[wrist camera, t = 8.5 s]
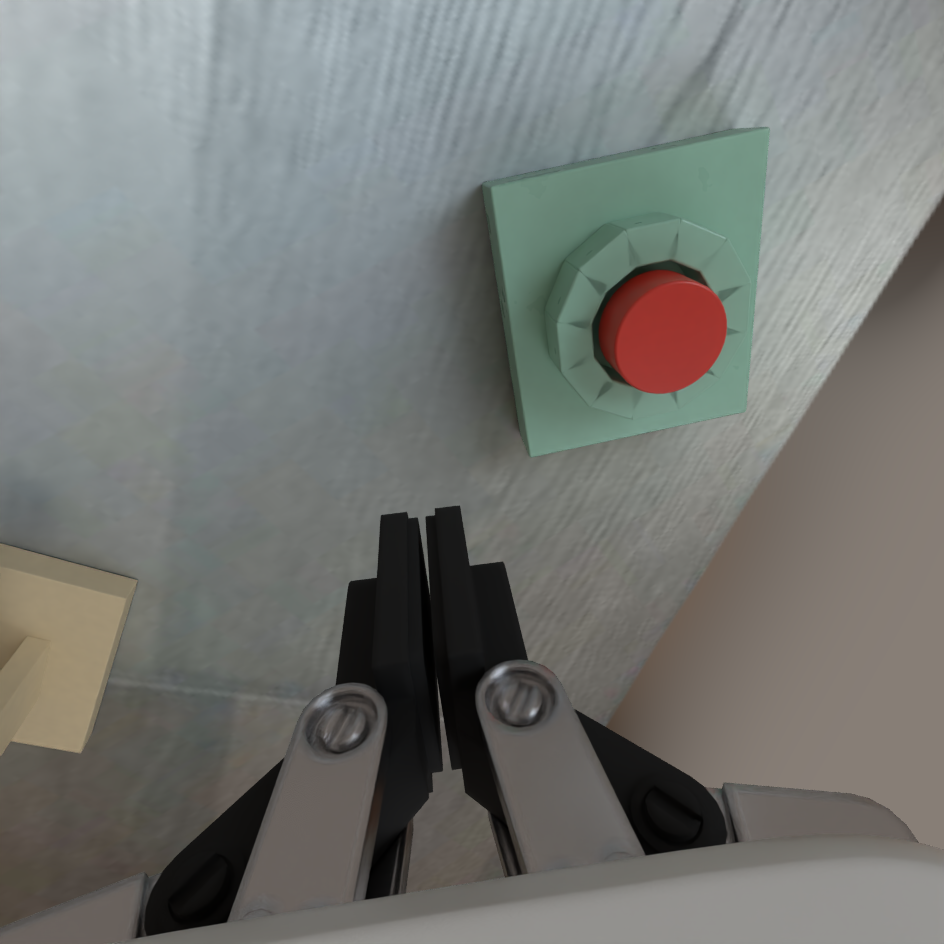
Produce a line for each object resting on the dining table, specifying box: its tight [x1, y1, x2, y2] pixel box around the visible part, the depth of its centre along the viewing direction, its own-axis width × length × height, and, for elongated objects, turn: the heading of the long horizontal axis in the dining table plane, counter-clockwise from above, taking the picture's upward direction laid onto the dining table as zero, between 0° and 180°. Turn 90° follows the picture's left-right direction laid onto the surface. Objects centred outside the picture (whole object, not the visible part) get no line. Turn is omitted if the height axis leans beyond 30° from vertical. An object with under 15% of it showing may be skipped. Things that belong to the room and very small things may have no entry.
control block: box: [482, 127, 770, 457], centre depth 20 cm, size 10×9×4 cm
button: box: [599, 270, 727, 394], centre depth 18 cm, size 4×4×2 cm
